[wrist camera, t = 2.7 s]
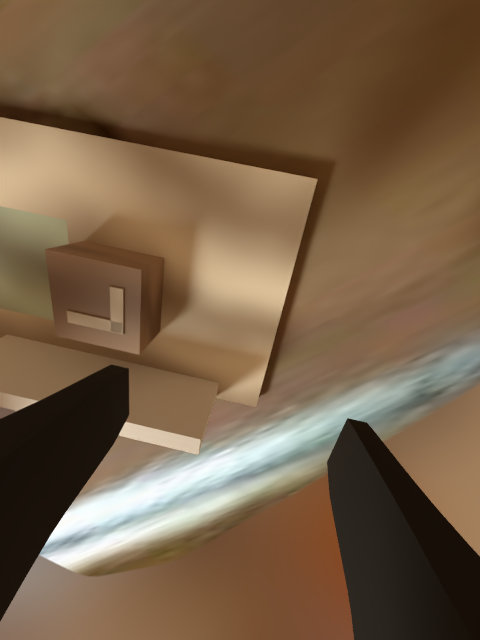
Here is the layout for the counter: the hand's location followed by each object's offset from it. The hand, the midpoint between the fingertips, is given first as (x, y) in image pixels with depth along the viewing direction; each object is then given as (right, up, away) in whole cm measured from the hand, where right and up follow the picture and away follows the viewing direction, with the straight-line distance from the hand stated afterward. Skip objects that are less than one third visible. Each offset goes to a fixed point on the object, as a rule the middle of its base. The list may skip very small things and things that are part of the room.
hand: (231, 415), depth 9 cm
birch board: (-7, +6, +9) cm, 13 cm away
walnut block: (-7, +5, +8) cm, 12 cm away
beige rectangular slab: (-9, 0, +11) cm, 14 cm away
